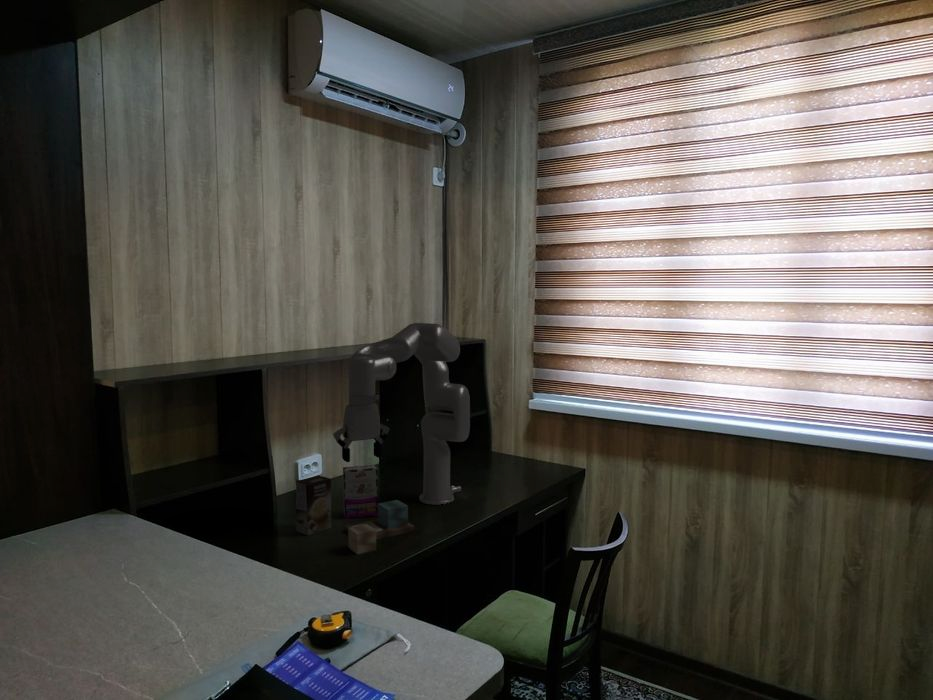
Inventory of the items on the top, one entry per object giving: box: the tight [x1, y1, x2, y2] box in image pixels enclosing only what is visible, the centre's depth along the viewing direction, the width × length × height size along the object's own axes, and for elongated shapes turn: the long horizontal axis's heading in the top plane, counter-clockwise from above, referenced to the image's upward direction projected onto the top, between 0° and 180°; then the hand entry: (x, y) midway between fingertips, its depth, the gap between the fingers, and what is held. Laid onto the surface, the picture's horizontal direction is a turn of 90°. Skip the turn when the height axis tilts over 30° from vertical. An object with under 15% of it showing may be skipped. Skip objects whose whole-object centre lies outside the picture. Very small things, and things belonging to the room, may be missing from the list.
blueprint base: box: [344, 499, 416, 540], centre depth 211 cm, size 18×12×8 cm, turn 125°
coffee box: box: [295, 475, 332, 536], centre depth 210 cm, size 9×6×16 cm
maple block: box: [347, 524, 377, 555], centre depth 196 cm, size 6×6×6 cm
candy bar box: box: [342, 464, 379, 520], centre depth 224 cm, size 11×5×16 cm, turn 105°
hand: (362, 458), depth 194 cm, fingers open, 9 cm apart
